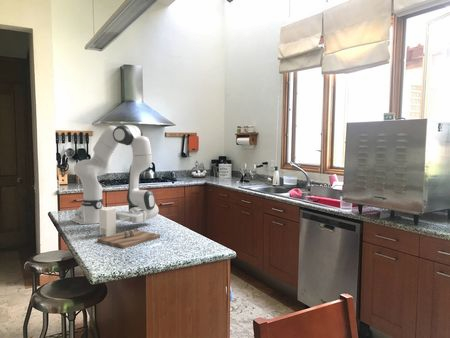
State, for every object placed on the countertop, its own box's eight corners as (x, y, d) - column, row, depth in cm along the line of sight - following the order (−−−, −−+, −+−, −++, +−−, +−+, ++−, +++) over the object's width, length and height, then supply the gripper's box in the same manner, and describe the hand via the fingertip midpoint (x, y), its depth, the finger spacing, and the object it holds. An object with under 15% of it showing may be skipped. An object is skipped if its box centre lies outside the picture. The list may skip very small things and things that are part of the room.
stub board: (97, 241, 184) (97, 232, 184) (133, 231, 204) (133, 223, 204) (124, 248, 173) (123, 239, 173) (160, 237, 193) (160, 229, 193)
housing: (99, 234, 197) (99, 209, 196) (108, 232, 202) (108, 207, 201) (106, 236, 194) (106, 210, 193) (116, 234, 199) (115, 208, 198)
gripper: (123, 207, 219) (103, 211, 208) (147, 211, 208) (128, 215, 196) (123, 218, 220) (104, 222, 208) (147, 222, 208) (128, 227, 197)
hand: (116, 219), depth 202 cm, fingers open, 8 cm apart
